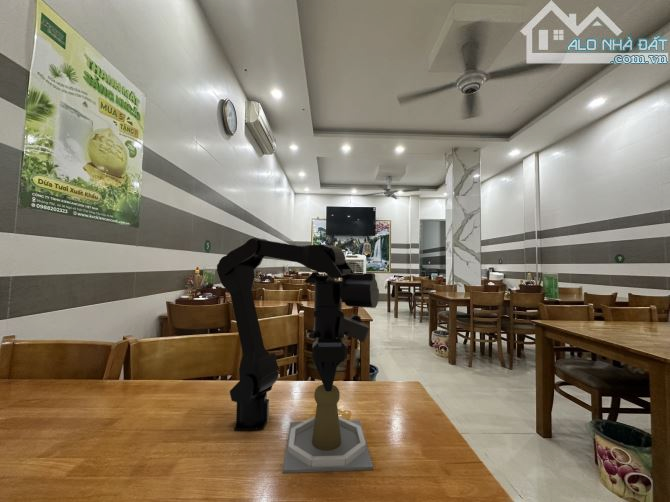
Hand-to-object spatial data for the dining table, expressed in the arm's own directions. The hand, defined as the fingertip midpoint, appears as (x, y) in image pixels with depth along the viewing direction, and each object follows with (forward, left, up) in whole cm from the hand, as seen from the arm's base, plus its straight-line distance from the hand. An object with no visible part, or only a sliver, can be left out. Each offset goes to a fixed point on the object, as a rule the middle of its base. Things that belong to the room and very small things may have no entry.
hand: (327, 381), depth 60 cm
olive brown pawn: (0, 0, -12) cm, 12 cm away
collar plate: (0, 0, -12) cm, 12 cm away
